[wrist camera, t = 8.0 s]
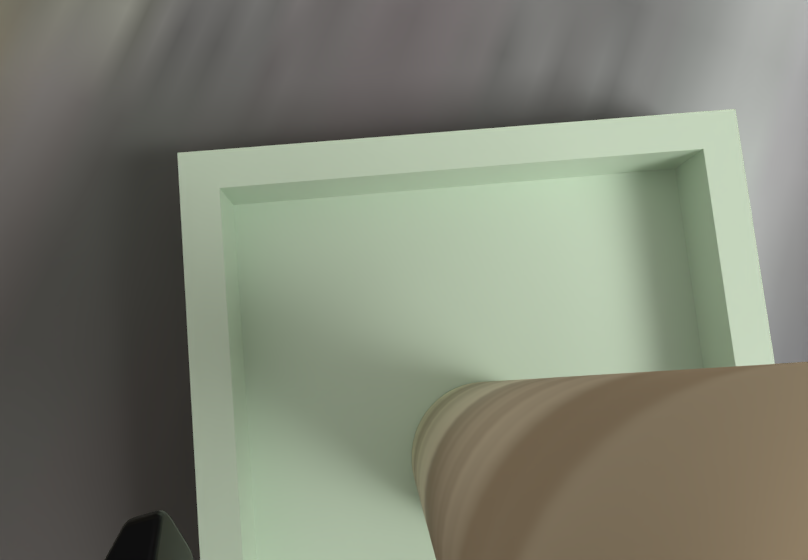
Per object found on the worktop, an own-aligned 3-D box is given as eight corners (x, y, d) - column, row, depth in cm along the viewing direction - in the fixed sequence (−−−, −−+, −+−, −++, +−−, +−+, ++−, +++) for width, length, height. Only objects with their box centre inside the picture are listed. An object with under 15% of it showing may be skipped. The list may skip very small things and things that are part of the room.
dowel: (590, 466, 16) (1389, 778, 3) (479, 567, 16) (872, 1362, 3) (492, 351, 16) (865, 220, 4) (381, 448, 16) (343, 691, 3)
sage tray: (797, 852, 16) (861, 923, 14) (245, 922, 15) (225, 1008, 13) (693, 140, 18) (735, 108, 16) (201, 180, 17) (177, 152, 15)
